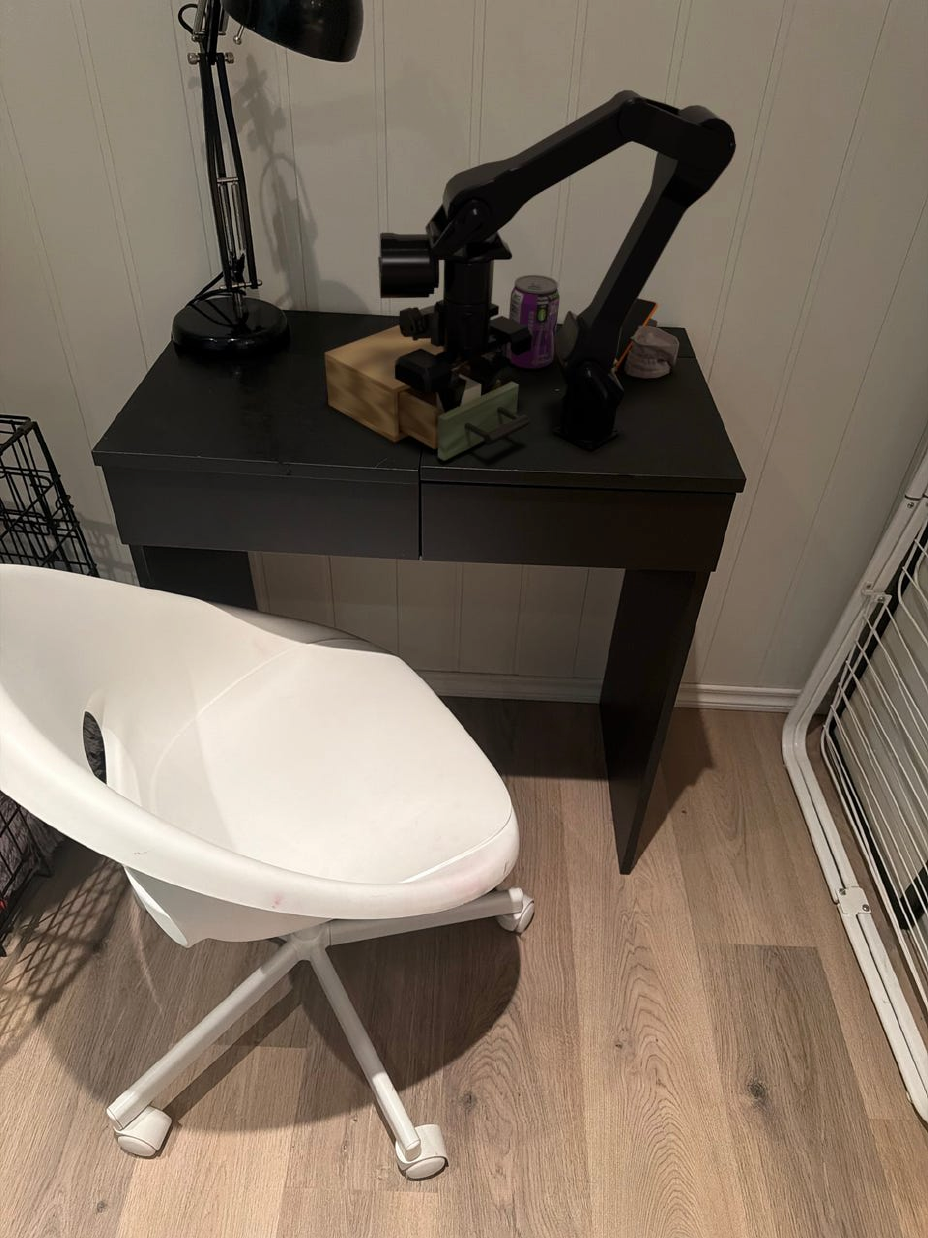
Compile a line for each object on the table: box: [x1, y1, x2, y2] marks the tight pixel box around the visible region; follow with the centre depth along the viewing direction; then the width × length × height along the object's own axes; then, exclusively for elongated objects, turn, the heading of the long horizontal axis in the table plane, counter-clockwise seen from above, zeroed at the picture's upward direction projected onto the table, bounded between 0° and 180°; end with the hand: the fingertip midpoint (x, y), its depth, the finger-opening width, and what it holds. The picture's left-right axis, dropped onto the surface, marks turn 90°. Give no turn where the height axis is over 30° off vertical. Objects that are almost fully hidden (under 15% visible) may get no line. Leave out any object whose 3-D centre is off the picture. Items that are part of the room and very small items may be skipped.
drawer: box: [398, 364, 531, 462], centre depth 109 cm, size 17×13×6 cm
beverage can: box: [505, 274, 560, 370], centre depth 124 cm, size 7×7×12 cm
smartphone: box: [612, 297, 659, 370], centre depth 129 cm, size 8×17×1 cm, turn 147°
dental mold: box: [623, 326, 680, 379], centre depth 126 cm, size 8×7×5 cm
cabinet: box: [323, 324, 469, 443], centre depth 115 cm, size 14×15×8 cm
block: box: [437, 374, 481, 416], centre depth 108 cm, size 4×4×4 cm
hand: (463, 415), depth 109 cm, fingers closed on block, 4 cm apart
